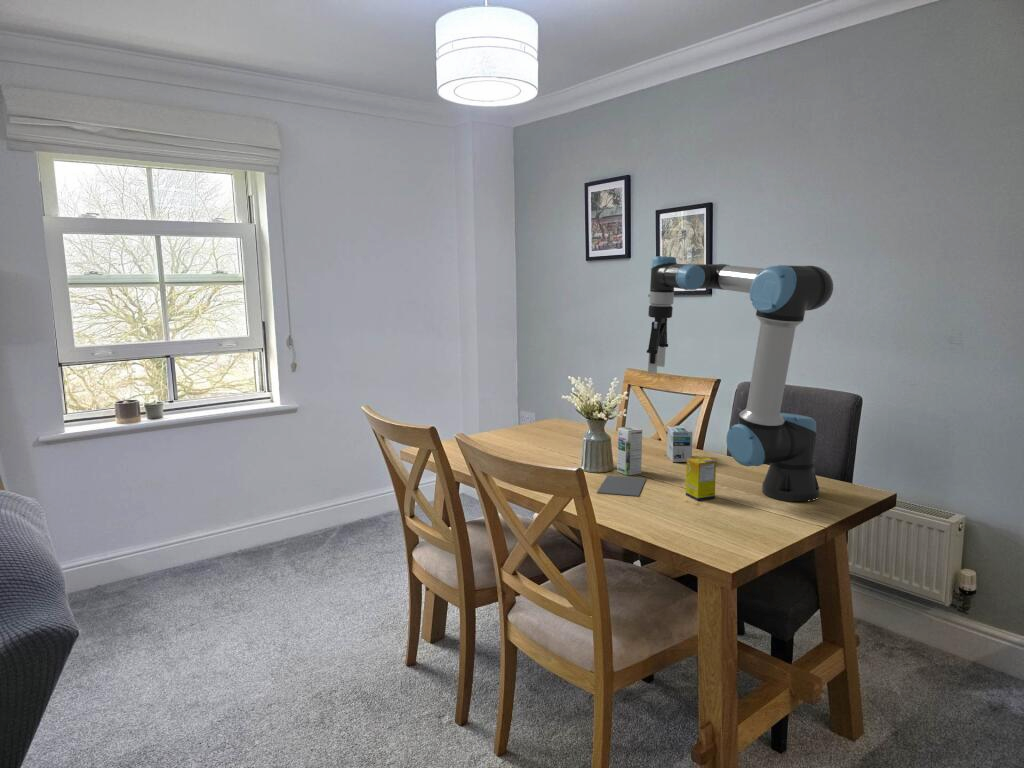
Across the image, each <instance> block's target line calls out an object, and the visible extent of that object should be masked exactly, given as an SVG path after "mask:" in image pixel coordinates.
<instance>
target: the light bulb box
mask: <svg viewBox="0 0 1024 768" xmlns="http://www.w3.org/2000/svg"><path fill="white" fill-rule="evenodd" d="M666 457H668V459H669V458H670V459H669V460H670V461H671V463H673V462H687V458H693V431H692V430H690V429H689V428H688V427H687V426H686V425H666Z"/></svg>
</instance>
